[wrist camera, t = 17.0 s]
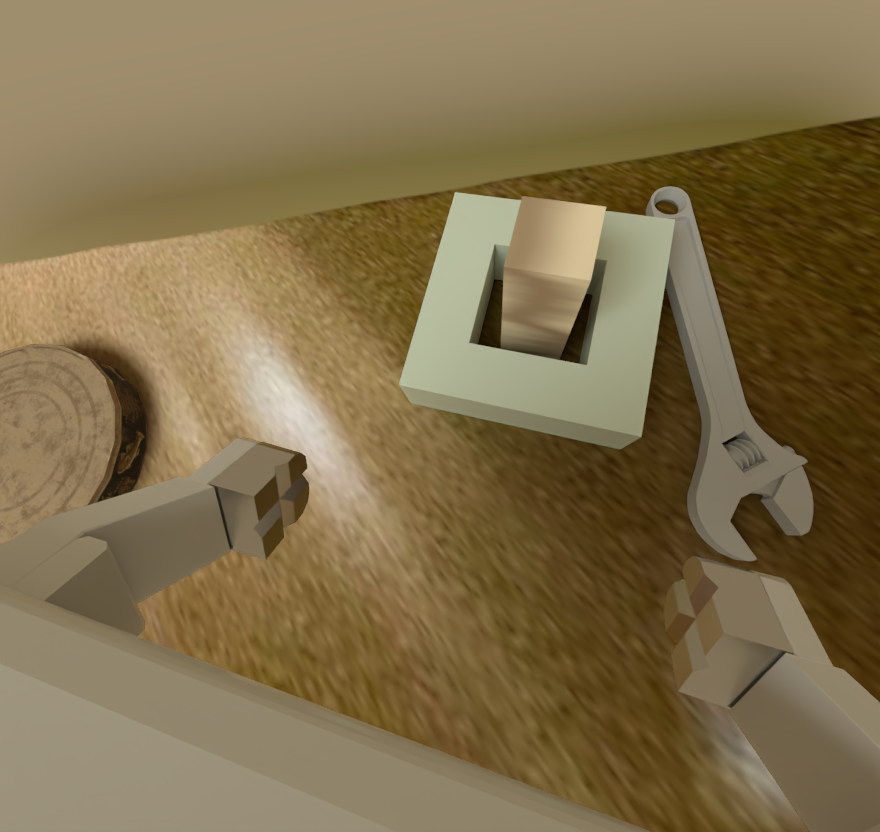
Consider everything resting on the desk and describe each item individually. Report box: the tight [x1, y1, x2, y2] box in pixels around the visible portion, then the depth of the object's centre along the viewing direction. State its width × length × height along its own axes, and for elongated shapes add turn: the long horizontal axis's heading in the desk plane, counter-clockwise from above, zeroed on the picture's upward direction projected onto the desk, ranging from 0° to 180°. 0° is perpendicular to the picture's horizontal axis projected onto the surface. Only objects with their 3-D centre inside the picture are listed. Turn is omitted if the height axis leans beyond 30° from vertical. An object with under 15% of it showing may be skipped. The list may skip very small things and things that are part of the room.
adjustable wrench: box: [646, 186, 813, 561], centre depth 27 cm, size 25×6×2 cm, turn 0°
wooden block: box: [501, 196, 606, 360], centre depth 25 cm, size 4×4×10 cm
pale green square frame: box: [399, 192, 675, 449], centre depth 27 cm, size 14×14×4 cm
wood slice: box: [0, 344, 147, 548], centre depth 31 cm, size 16×16×3 cm
